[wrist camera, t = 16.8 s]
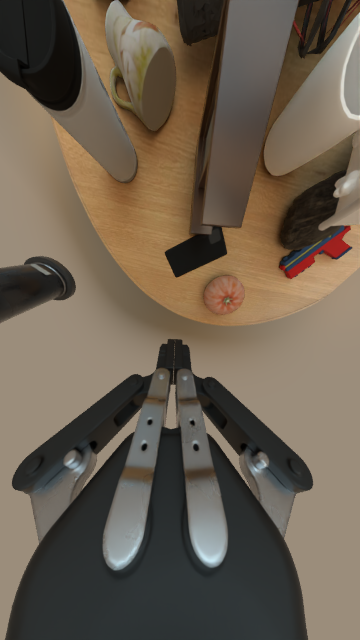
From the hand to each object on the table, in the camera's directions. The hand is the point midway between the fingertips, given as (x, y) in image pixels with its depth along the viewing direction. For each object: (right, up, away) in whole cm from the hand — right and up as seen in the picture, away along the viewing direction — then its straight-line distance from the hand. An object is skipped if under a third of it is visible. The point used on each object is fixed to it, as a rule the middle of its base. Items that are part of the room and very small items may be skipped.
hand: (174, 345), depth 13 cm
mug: (-6, +40, +7) cm, 41 cm away
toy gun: (+39, +16, +21) cm, 47 cm away
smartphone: (+5, +20, +20) cm, 29 cm away
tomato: (+13, +12, +25) cm, 30 cm away
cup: (+20, +35, +10) cm, 41 cm away
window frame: (+5, +29, +14) cm, 32 cm away
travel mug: (-11, +34, +11) cm, 37 cm away
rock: (+28, +26, +16) cm, 42 cm away
